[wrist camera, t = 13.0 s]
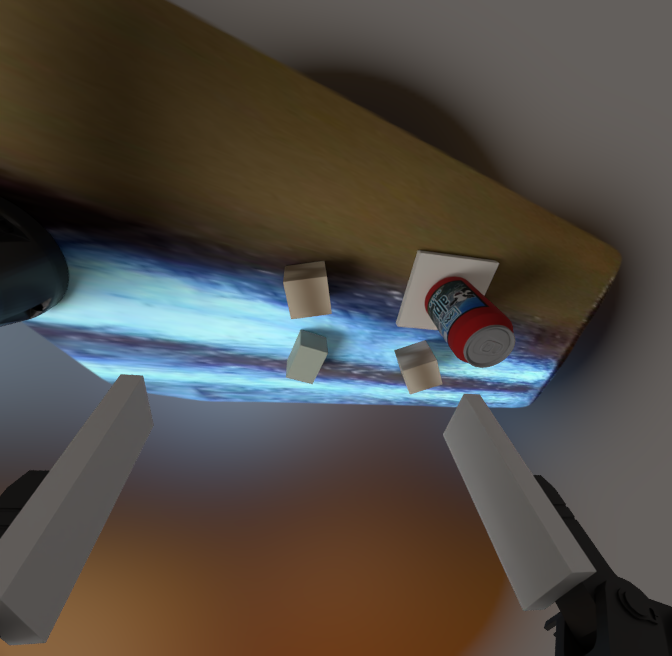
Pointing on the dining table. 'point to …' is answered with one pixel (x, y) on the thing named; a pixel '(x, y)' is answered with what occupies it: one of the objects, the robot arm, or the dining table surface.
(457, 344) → the beverage can
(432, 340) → the dining table surface
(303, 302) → the beech block
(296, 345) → the sage block
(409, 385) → the maple block
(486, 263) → the plate
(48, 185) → the dining table surface
